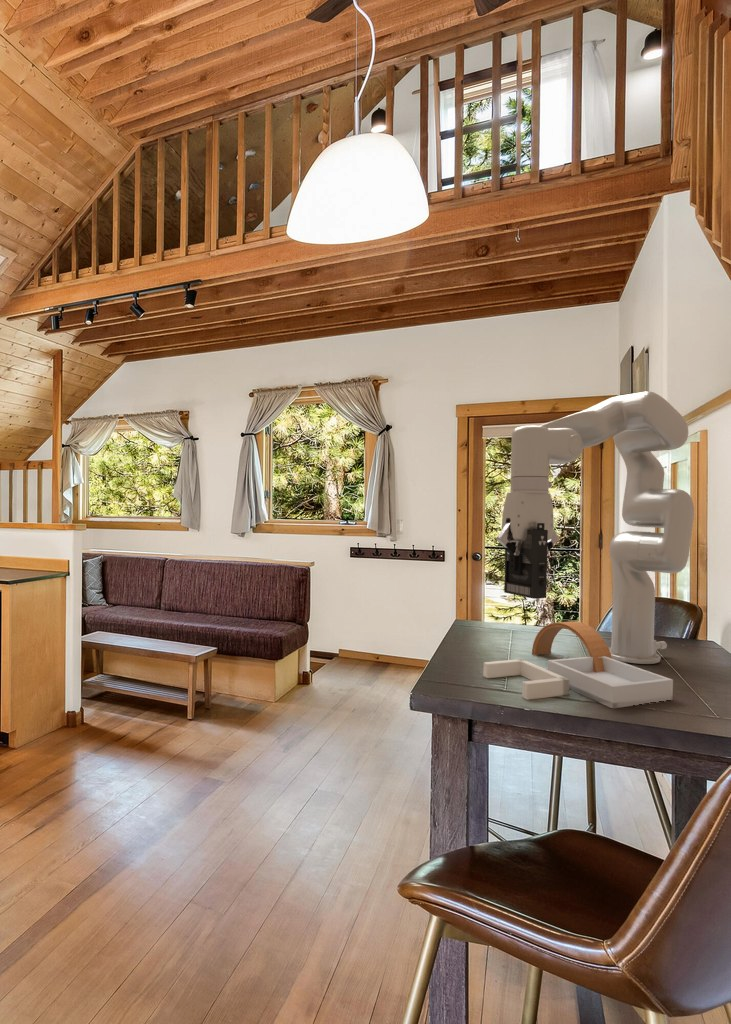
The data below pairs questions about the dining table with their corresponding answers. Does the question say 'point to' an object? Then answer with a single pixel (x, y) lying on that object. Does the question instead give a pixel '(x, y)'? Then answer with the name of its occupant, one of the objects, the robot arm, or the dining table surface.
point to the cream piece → (541, 678)
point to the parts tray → (613, 681)
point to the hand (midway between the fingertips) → (527, 573)
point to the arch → (583, 631)
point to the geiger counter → (530, 566)
